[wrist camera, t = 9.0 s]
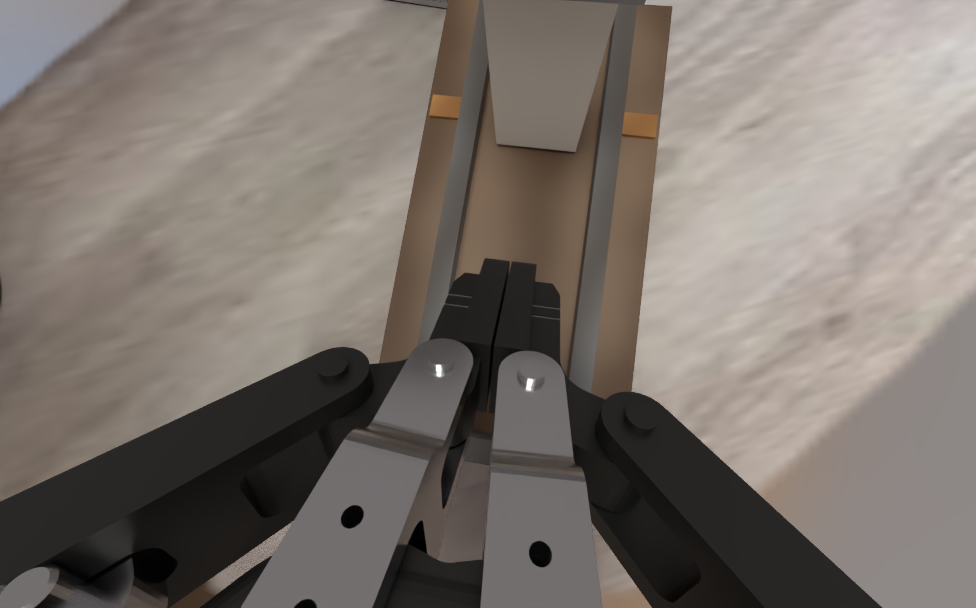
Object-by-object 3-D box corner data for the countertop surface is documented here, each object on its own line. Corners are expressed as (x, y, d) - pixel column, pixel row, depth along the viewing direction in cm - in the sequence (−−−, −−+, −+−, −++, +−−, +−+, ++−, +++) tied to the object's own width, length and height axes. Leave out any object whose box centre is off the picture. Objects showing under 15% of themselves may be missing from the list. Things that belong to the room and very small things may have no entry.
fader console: (384, 422, 20) (351, 439, 16) (457, 31, 23) (445, -36, 19) (608, 463, 19) (632, 492, 15) (654, 45, 22) (685, -23, 18)
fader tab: (483, 151, 19) (445, -80, 9) (495, 80, 19) (472, -217, 9) (586, 162, 18) (671, -71, 8) (595, 89, 19) (687, -215, 9)
